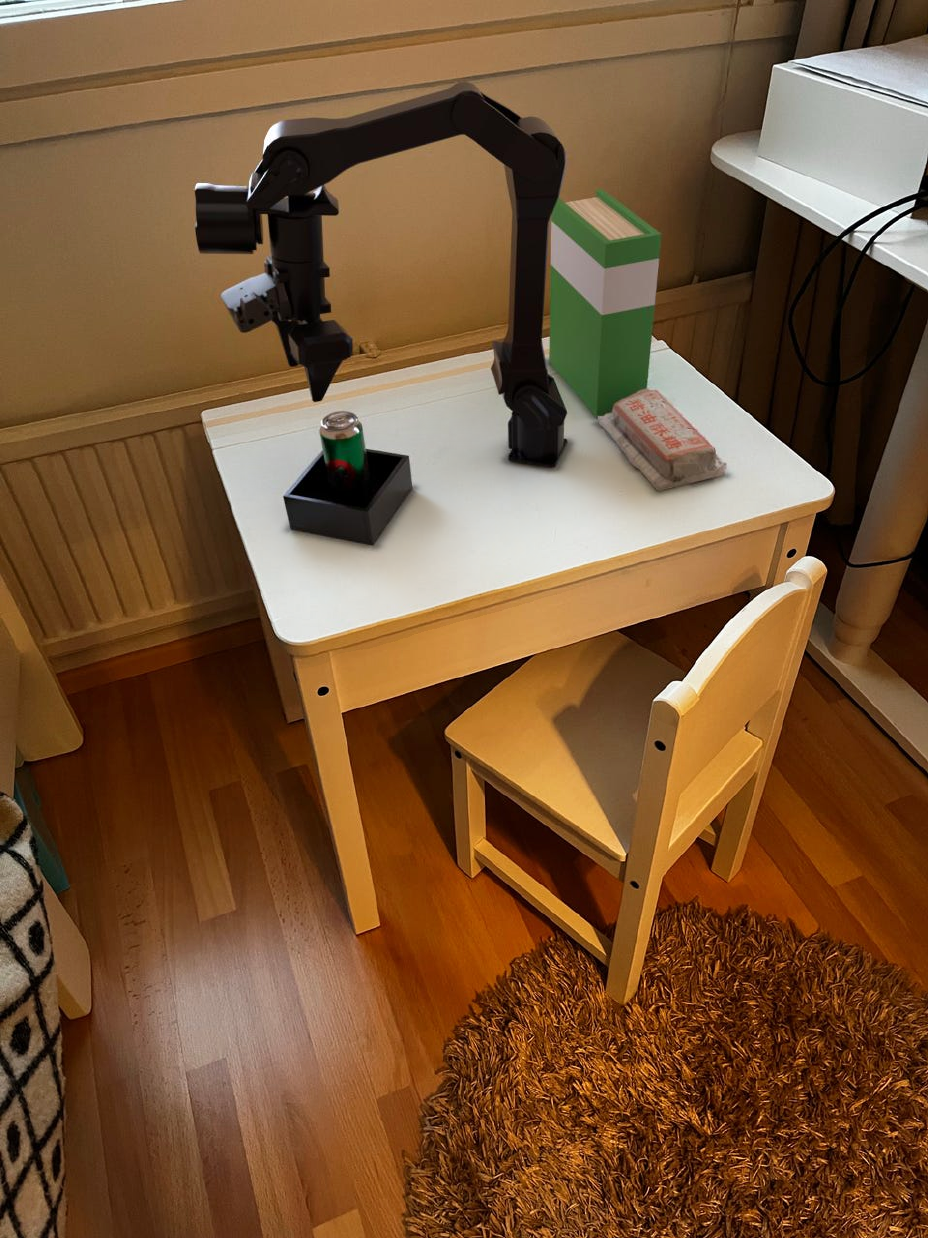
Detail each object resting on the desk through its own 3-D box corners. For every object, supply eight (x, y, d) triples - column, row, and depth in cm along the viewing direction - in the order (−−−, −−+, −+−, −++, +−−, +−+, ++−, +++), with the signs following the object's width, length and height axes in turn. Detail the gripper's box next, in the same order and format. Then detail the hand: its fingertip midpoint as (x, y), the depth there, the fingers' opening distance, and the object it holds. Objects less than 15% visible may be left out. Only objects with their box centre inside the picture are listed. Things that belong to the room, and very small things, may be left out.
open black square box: (412, 488, 117) (409, 455, 113) (373, 546, 109) (368, 512, 105) (334, 474, 120) (328, 442, 117) (290, 529, 112) (282, 496, 108)
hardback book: (549, 361, 139) (551, 197, 123) (594, 352, 141) (602, 189, 124) (596, 418, 127) (605, 243, 110) (645, 407, 128) (661, 233, 112)
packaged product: (733, 443, 112) (660, 461, 110) (728, 476, 115) (656, 494, 113) (665, 377, 124) (597, 391, 123) (661, 408, 128) (596, 423, 126)
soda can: (379, 510, 113) (366, 425, 105) (340, 521, 112) (324, 436, 103) (366, 488, 116) (353, 405, 108) (328, 499, 115) (312, 415, 107)
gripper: (202, 230, 103) (219, 358, 114) (247, 296, 91) (261, 433, 102) (298, 221, 107) (305, 345, 118) (353, 283, 95) (355, 416, 105)
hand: (305, 383), depth 110 cm, fingers open, 9 cm apart
